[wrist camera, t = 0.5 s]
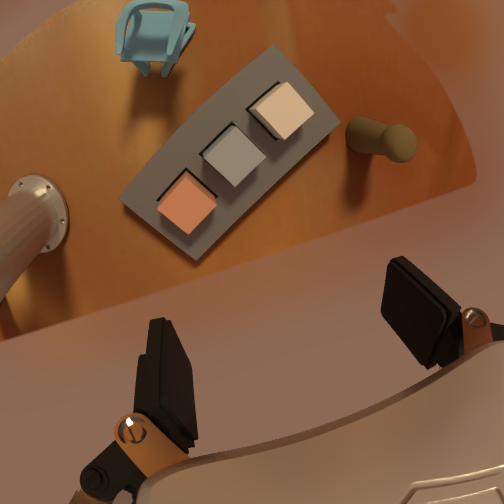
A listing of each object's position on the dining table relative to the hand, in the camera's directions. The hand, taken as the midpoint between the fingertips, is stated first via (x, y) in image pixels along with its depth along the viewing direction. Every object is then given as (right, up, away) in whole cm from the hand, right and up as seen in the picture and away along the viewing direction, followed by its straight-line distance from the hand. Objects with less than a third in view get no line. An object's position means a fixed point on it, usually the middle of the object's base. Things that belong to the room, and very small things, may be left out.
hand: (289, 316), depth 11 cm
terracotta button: (-10, +10, +24) cm, 28 cm away
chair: (-13, +29, +16) cm, 36 cm away
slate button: (-4, +15, +23) cm, 27 cm away
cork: (+15, +21, +27) cm, 38 cm away
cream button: (+2, +20, +21) cm, 29 cm away
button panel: (-5, +16, +25) cm, 30 cm away
